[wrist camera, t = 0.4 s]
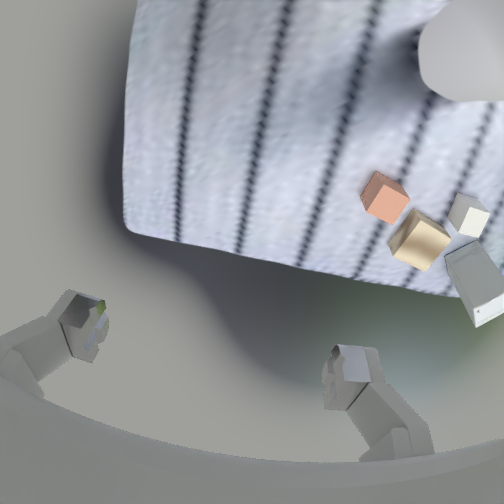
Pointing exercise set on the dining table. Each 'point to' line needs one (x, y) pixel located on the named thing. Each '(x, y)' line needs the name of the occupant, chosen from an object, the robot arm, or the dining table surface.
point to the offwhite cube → (468, 215)
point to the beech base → (419, 241)
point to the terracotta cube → (384, 198)
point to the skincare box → (477, 282)
